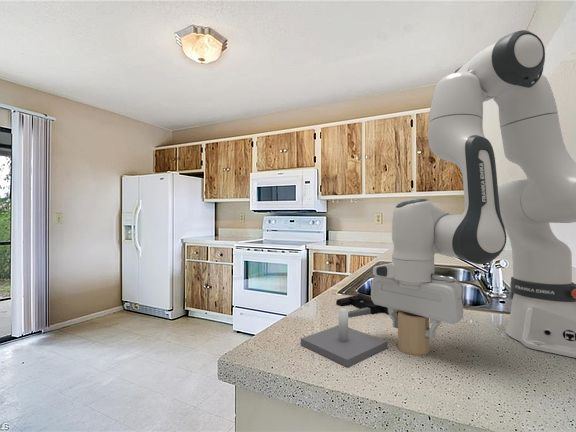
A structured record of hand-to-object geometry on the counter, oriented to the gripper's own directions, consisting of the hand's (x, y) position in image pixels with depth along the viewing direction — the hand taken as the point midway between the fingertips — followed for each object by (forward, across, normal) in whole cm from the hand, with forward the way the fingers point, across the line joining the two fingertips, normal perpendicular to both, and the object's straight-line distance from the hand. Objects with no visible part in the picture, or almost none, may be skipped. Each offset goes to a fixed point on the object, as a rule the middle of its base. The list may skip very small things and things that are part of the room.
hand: (413, 332), depth 69 cm
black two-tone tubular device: (+4, +25, -15) cm, 29 cm away
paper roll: (+4, 0, 0) cm, 4 cm away
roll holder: (+4, +11, +11) cm, 16 cm away
